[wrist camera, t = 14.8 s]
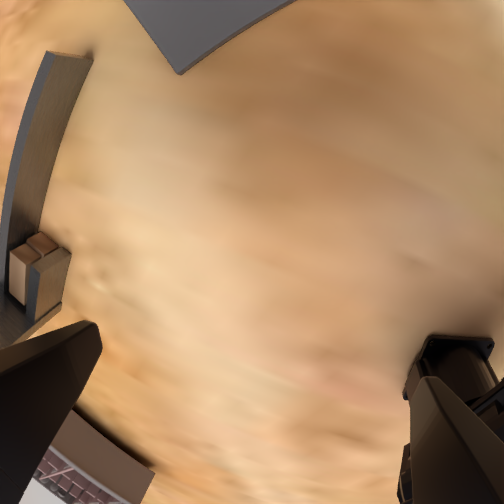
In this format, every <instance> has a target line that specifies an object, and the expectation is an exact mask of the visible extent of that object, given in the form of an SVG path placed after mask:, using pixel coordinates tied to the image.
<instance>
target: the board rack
mask: <svg viewBox="0 0 504 504" xmlns="http://www.w3.org/2000/svg"><path fill="white" fill-rule="evenodd" d="M92 62H93V60H91V59H88V58H86V57H84V56H78V55H73V54H66V53H60V52H53V51H46V53H45V55H44V57H43V60H42V62H41V65H40V67H39V70H38V72H37V75H36V78H35V80H34V83H33V86H32V89H31V92H30V94H29V97H28V100H27V103H26V107H25V110H24V113H23V116H22V120H21V123H20V127H19V130H18V134H17V138H16V142H15V146H14V150H13V154H12V158H11V163H10V168H9V173H8V178H7V183H6V189H5V195H4V201H3V208H2V216H1V224H0V349H3V348H6V347H9V346H11V345H14V344H17V343H20V342H23V341H25V340H26V339H28V338H29V337H30V336H31V335H32V334H33V333H35V332H36V331H37V330H38V329H39V328H40V327H42V326H43V325H44V324H45V323H46V322H47V321H49V320H50V319H51V318H52V317H53V316H55V315H56V314H57V313H58V312H60V310H61V304H62V303H61V298H62V293H63V288H64V284H65V279H66V275H67V271H68V267H69V262H70V258H71V255H72V254H70V253H69V252H68V251H67V250H66V249H64V248H63V247H61V248H59V249H57V250H55V251H54V252H52V253H50V254H49V255H47V256H45V257H43V258H42V259H40V260H38V261H37V262H35V263H33V264H32V265H31V268H30V275H29V284H28V294H27V304H26V305H25V306H24V305H23V304H22V303H21V302H20V301H19V300H17V299H16V298H15V297H14V296H13V295H12V294H11V293H10V292H9V267H10V251H12V250H14V249H16V248H17V247H19V246H21V245H23V244H25V243H26V242H27V239H28V238H30V237H32V236H34V235H36V234H37V232H38V227H39V222H40V217H41V212H42V208H43V203H44V199H45V195H46V191H47V187H48V183H49V180H50V176H51V172H52V169H53V165H54V162H55V159H56V155H57V152H58V149H59V146H60V143H61V140H62V137H63V134H64V131H65V128H66V125H67V122H68V120H69V117H70V114H71V112H72V109H73V107H74V104H75V101H76V99H77V96H78V94H79V92H80V89H81V87H82V85H83V82H84V80H85V78H86V75H87V73H88V71H89V69H90V67H91V65H92Z"/></svg>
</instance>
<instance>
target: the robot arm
mask: <svg viewBox="0 0 504 504" xmlns="http://www.w3.org/2000/svg"><path fill="white" fill-rule="evenodd" d="M432 341H434V342H433V343H431V342H432ZM494 345H495V343H494V341H493V339H492V338H476V337H456V336H440V335H431V336H429V337H428V338H427V339H426V341H425V343H424V346H423V348H422V351H421V353H420V355H419V358H418V359H417V360H416V361H415V363H414V365H413V367H412V370H411V372H410V374H409V376H408V379H407V381H406V383H405V389H404V391H403V394H402V395H403V399H404V400H409V405H410V443H408V444H407V445H405V446H404V450H403V457H402V464H401V470H400V476H399V482H398V490H397V497H398V498H399V502H400V504H504V378H502V379H501V380H502V381H501V382H499V381H498V379H497V377H496V375H495V373H494V371H493V369H492V367H491V365H490V363H489V361H488V358H489V356H490V354H491V352H492V350H493V348H494ZM102 348H103V347H102V341H101V337H100V333H99V329H98V326H97V324H96V323H94V322H91V321H87V320H82V321H79V322H77V323H74V324H71V325H68V326H65V327H63V328H60V329H57V330H54V331H51V332H48V333H46V334H43V335H40V336H37V337H34V338H31V339H29V340H26V341H23V342H20V343H17V344H14V345H11V346H9V347H6V348H3V349H0V504H19V502H20V500H21V498H22V496H23V494H24V491H25V490H26V488H27V486H28V484H29V482H30V480H31V478H32V477H33V475H34V473H35V471H36V469H37V468H38V466H39V464H40V462H41V460H42V459H43V457H44V455H45V453H46V452H47V450H48V448H49V446H50V445H51V443H52V441H53V439H54V438H55V436H56V434H57V433H58V431H59V429H60V427H61V426H62V424H63V422H64V421H65V419H66V417H67V416H68V414H69V412H70V411H71V409H72V408H73V406H74V404H75V403H76V401H77V399H78V398H79V396H80V394H81V393H82V391H83V389H84V387H85V385H86V383H87V381H88V379H89V377H90V375H91V373H92V371H93V369H94V367H95V365H96V363H97V361H98V359H99V357H100V355H101V353H102Z"/></svg>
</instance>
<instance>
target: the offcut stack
mask: <svg viewBox="0 0 504 504" xmlns="http://www.w3.org/2000/svg"><path fill="white" fill-rule="evenodd" d="M57 249H58V245H56V244H55V243H54V242H53V241H52V240H50V239H49V238H48V237H47V236H46V235H45V234H43V233H42V232H40V233H38V234H36V235H34V236H32V237H30V238H28V239H27V242H26V243H25V244H23V245H21V246H19V247H17V248H16V249H14V250H12V251H10V267H9V292H10V293H11V294H12V295H13V296H14V297H15V298H16V299H17V300H19V301H20V302H21V303H22V304H23V305H24V306H25V305H26V304H27V294H28V284H29V275H30V268H31V265H32V264H33V263H35V262H37V261H38V260H40V259H42V258H43V257H45V256H47V255H49V254H50V253H52V252H54V251H55V250H57Z"/></svg>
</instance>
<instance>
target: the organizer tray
mask: <svg viewBox="0 0 504 504" xmlns="http://www.w3.org/2000/svg"><path fill="white" fill-rule="evenodd" d="M154 475H155V473H154V472H152V471H151V470H149V469H148V468H146V467H145V466H143V465H142V464H140V463H139V462H137V461H136V460H135V459H133V458H132V457H130V456H129V455H128V454H126V453H125V452H123V451H122V450H121V449H119V448H118V447H117V446H115V445H114V444H113V443H111V442H110V441H109V440H108V439H106V438H105V437H104V436H103V435H101V434H100V433H99V432H98V431H96V430H95V429H94V428H93V427H92V426H90V425H89V424H88V423H87V422H86V421H84V420H83V419H82V418H81V417H80V416H79V415H77V414H76V413H75V412H74V411H73V410H72V409H71V411H70V412H69V414H68V416H67V417H66V419H65V421H64V422H63V424H62V426H61V427H60V429H59V431H58V433H57V434H56V436H55V438H54V439H53V441H52V443H51V445H50V446H49V448H48V450H47V452H46V453H45V455H44V457H43V459H42V460H41V462H40V464H39V466H38V468H37V469H36V471H35V473H34V475H33V478H34V479H35V480H36V481H37V482H39V483H40V484H41V485H43V486H44V487H45V488H46V489H48V490H49V491H50V492H51V493H53V494H54V495H55V496H57V497H58V498H60V499H61V500H62V501H64V502H65V503H66V504H140V503H141V501H142V499H143V497H144V495H145V493H146V491H147V489H148V487H149V485H150V483H151V481H152V479H153V477H154Z"/></svg>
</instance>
